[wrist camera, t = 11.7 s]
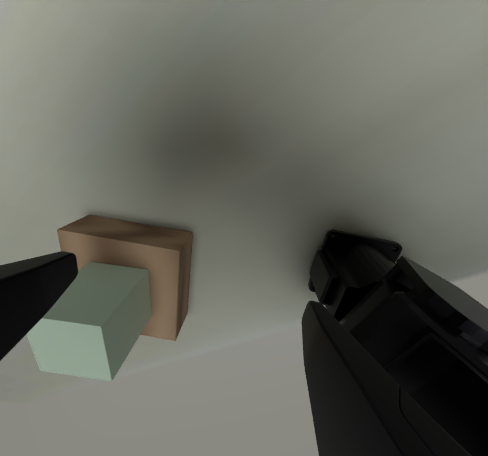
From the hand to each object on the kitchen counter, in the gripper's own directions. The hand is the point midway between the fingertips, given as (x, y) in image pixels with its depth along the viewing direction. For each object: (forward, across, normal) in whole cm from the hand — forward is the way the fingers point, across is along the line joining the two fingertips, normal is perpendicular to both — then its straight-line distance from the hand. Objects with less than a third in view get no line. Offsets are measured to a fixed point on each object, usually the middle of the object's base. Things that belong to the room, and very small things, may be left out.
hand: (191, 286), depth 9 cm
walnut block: (+12, +8, +9) cm, 17 cm away
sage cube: (+8, +8, +9) cm, 15 cm away
